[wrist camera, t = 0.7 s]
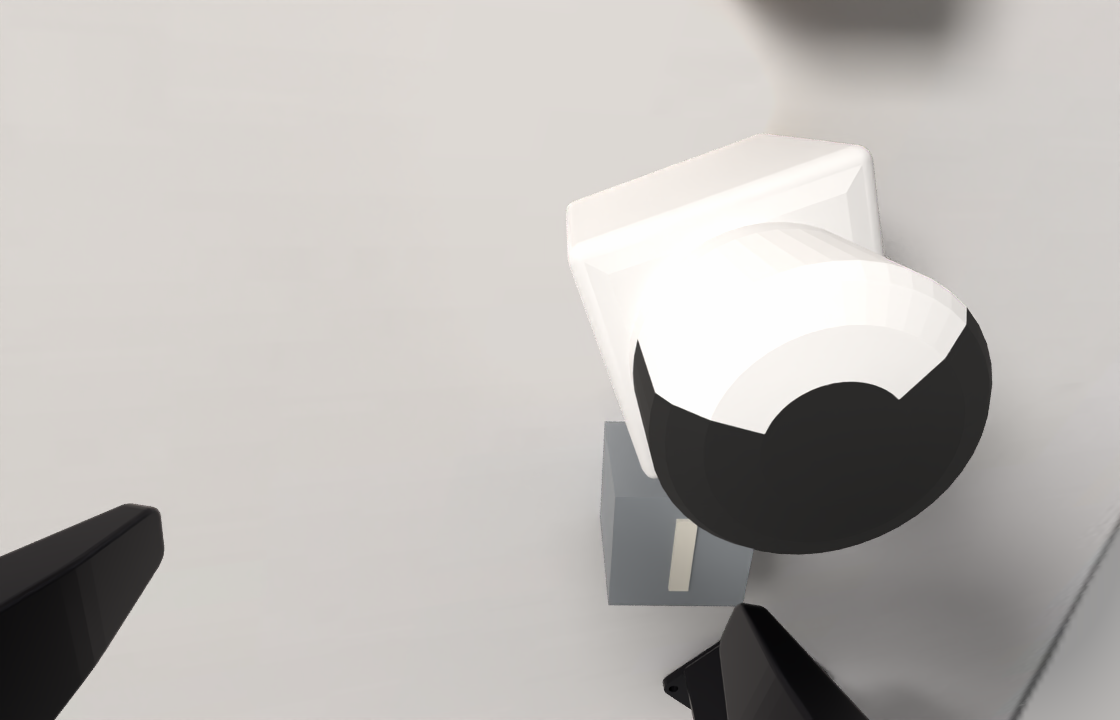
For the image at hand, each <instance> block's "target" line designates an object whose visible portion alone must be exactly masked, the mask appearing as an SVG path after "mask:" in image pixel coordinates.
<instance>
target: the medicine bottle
mask: <svg viewBox="0 0 1120 720" xmlns="http://www.w3.org/2000/svg"><path fill="white" fill-rule="evenodd" d="M566 223H567V251H568V263H569V266H570V269H571V272H572V275H573V277H574V280H575V283H576V286H577V289H578V291H579V294H580V297H581V300H582V303H583V305H584V308H585V311H586V314H587V317H588V319H589V322H590V325H591V328H592V331H593V333H594V336H595V339H596V342H597V345H598V347H599V350H600V353H601V356H602V359H603V361H604V364H605V367H606V370H607V373H608V375H609V378H610V381H611V384H612V386H613V389H614V392H615V395H616V398H617V400H618V403H619V406H620V409H621V412H622V414H623V417H624V420H625V423H626V426H627V428H628V431H629V434H630V437H631V440H632V442H633V445H634V448H635V451H636V454H637V456H638V459H639V462H640V465H641V468H642V470H643V471H644V472H645V474H646V475H647V476H648V477H650V478H652V479H657V478H658V479H659V481H660V484H661V486H662V488H663V489H664V491H665V492H666V494H667V495H668V497H669V498H670V500H671V501H672V503H673V504H674V505H675V506H676V507H677V508H678V509H679V510H680V511H681V512H682V514H683V515H684V516H686V517H687V518H688V519H689V520H691V521H692V522H693V523H694V524H696V525H697V526H698V527H700V528H702V529H703V530H705V531H707V532H708V533H710V534H712V535H714V536H716V537H718V538H720V539H723V540H725V541H728V542H730V543H733V544H736V545H740V546H744V547H748V548H751V549H755V550H759V551H764V552H771V553H778V554H813V553H823V552H828V551H834V550H840V549H843V548H847V547H851V546H854V545H858V544H861V543H864V542H866V541H869V540H871V539H874V538H877V537H879V536H881V535H883V534H885V533H887V532H889V531H891V530H893V529H895V528H897V527H899V526H901V525H902V524H904V523H905V522H907V521H909V520H910V519H912V518H913V517H915V516H917V515H918V514H919V513H920V512H922V511H923V510H924V509H926V508H927V507H928V506H929V505H931V504H932V503H933V502H934V501H935V500H936V499H937V498H938V497H939V496H940V495H941V494H943V493H944V492H945V491H946V490H947V489H948V488H949V487H950V485H951V484H952V483H953V482H954V480H955V479H956V478H957V477H958V476H959V474H960V473H961V472H962V471H963V469H964V467H965V466H966V464H967V463H968V461H969V460H970V458H971V456H972V455H973V453H974V451H975V449H976V447H977V445H978V442H979V440H980V438H981V436H982V433H983V430H984V426H985V423H986V420H987V416H988V410H989V404H990V396H991V389H992V369H991V360H990V356H989V351H988V347H987V343H986V341H985V338H984V336H983V334H982V331H981V329H980V327H979V324H978V323H977V322H976V320H975V319H974V317H973V316H972V314H971V313H970V311H969V310H968V308H967V307H966V306H965V305H964V304H963V303H962V302H961V301H960V300H959V299H958V298H957V297H956V296H955V295H954V294H953V293H952V292H951V291H949V290H948V289H946V288H945V287H943V286H942V285H940V284H939V283H937V282H936V281H934V280H933V279H931V278H929V277H927V276H924V275H922V274H920V273H918V272H916V271H914V270H911V269H909V268H907V267H905V266H903V265H901V264H898V263H896V262H894V261H892V260H890V259H888V258H885V257H884V251H883V242H882V234H881V225H880V216H879V208H878V199H877V190H876V182H875V173H874V164H873V158H872V155H871V153H870V151H869V150H868V149H866V148H865V147H863V146H861V145H855V144H847V143H839V142H831V141H822V140H814V139H806V138H798V137H790V136H781V135H773V134H765V133H763V134H756V135H754V136H751V137H748V138H745V139H743V140H740V141H737V142H735V143H732V144H729V145H726V146H724V147H721V148H718V149H715V150H713V151H710V152H707V153H705V154H702V155H699V156H696V157H694V158H691V159H688V160H685V161H683V162H680V163H677V164H674V165H672V166H669V167H666V168H664V169H661V170H658V171H655V172H653V173H650V174H647V175H644V176H642V177H639V178H636V179H634V180H631V181H628V182H625V183H623V184H620V185H617V186H614V187H612V188H609V189H606V190H604V191H601V192H598V193H595V194H593V195H590V196H587V197H584V198H582V199H579V200H576V201H573V202H572V203H570V204H569V205H568V207H567V209H566Z"/></svg>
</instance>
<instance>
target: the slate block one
mask: <svg viewBox="0 0 1120 720" xmlns="http://www.w3.org/2000/svg"><path fill="white" fill-rule="evenodd" d="M600 521H601V531H602V542H603V553H604V563H605V574H606V585H607V595H608V605H651V606H737V605H738V604H740V603H743V600H744V595H745V590H746V585H747V580H748V575H749V570H750V565H751V560H752V555H753V550H754V549H751V548H748V547H744V546H740V545H736V544H733V543H730V542H728V541H725V540H723V539H720V538H718V537H716V536H714V535H712V534H710V533H708V532H707V531H705V530H703V529H702V528H700V527H698V526H697V525H696V524H694V523H693V522H692V521H691V520H689V519H688V518H687V517H686V516H684V515H683V514H682V512H681V511H680V510H679V509H678V508H677V507H676V506H675V505H674V504H673V503H672V501H671V500H670V498H669V497H668V495H667V494H666V492H665V491H664V489H663V488H662V486H661V484H660V481H659V479H658V478H657V479H652V478H650V477H648V476H647V475H646V474H645V472H644V471H643V470H642V468H641V465H640V462H639V459H638V456H637V454H636V451H635V448H634V445H633V442H632V440H631V437H630V434H629V431H628V428H627V426H626V423H625V422H605V428H604V448H603V468H602V488H601V508H600Z"/></svg>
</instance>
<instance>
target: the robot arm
mask: <svg viewBox="0 0 1120 720" xmlns="http://www.w3.org/2000/svg"><path fill="white" fill-rule="evenodd" d="M163 555H164V540H163V531H162V522H161V515H160V512H159V511H158V509H157V508H154V507H151V506H144V505H138V504H124V505H121V506H119V507H116V508H114V509H111V510H109V511H107V512H104V513H102V514H100V515H97V516H95V517H93V518H90V519H88V520H86V521H83V522H81V523H78V524H76V525H74V526H71V527H69V528H67V529H64V530H62V531H60V532H57V533H55V534H52V535H50V536H48V537H45V538H43V539H41V540H38V541H36V542H34V543H31V544H29V545H26V546H24V547H22V548H19V549H17V550H15V551H12V552H10V553H8V554H5V555H3V556H1V557H0V720H55V719H56V717H57V716H58V715H59V713H60V712H61V711H62V709H63V708H64V707H65V706H66V704H67V703H68V702H69V700H70V699H71V698H72V696H73V695H74V694H75V693H76V691H77V690H78V689H79V687H80V686H81V685H82V683H83V682H84V681H85V679H86V678H87V677H88V675H89V674H90V673H91V671H92V670H93V668H94V667H95V666H96V664H97V663H98V661H99V660H100V658H101V657H102V655H103V654H104V652H105V651H106V649H107V648H108V646H109V645H110V643H111V641H112V640H113V638H114V637H115V635H116V634H117V632H118V630H119V629H120V627H121V626H122V624H123V622H124V621H125V619H126V618H127V616H128V615H129V613H130V611H131V610H132V608H133V607H134V605H135V603H136V602H137V600H138V599H139V597H140V595H141V594H142V592H143V591H144V589H145V588H146V586H147V584H148V583H149V581H150V580H151V578H152V576H153V575H154V573H155V572H156V570H157V569H158V567H159V565H160V563H161V561H162V558H163ZM663 686H664V691H665V692H666V693H667V694H668V695H670V696H671V697H673V698H674V699H676V700H677V701H679V702H680V703H682V704H683V705H685V706H686V707H688V708H690V709H691V710H692V715H693V719H694V720H869V719H868V718H867V717H866V716H865V715H864V714H863V713H862V712H861V710H860V709H859V708H858V707H857V706H856V705H855V704H854V703H853V702H852V701H851V700H850V699H849V697H848V696H847V695H846V694H845V693H844V692H843V691H842V690H841V689H840V688H839V687H838V686H837V685H836V683H835V682H834V681H833V680H832V679H831V678H830V677H829V675H828V674H827V673H826V672H825V671H823V669H822V668H821V667H820V666H819V665H818V664H817V663H816V662H815V661H814V660H813V659H812V658H811V657H810V655H809V654H808V653H807V652H806V651H805V650H804V649H803V648H802V647H801V646H800V645H799V644H798V642H797V641H796V640H795V639H794V638H793V637H792V636H791V635H790V634H789V633H788V632H787V631H786V630H785V628H784V627H783V626H782V625H781V624H780V623H779V622H778V621H777V620H776V619H775V618H774V617H773V616H772V614H771V613H770V612H769V611H768V610H767V609H765V608H764V607H762V606H757V605H751V604H745V603H740V604H738V605H737V606H736V607H735V608H734V610H733V612H732V615H731V617H730V619H729V621H728V623H727V625H726V628H725V630H724V632H723V634H722V637H721V640H720V642H718V643H717V644H715V645H714V646H712V647H711V648H709V649H708V650H706V651H705V652H703V653H702V654H700V655H699V656H697V657H696V658H694V659H693V660H691V661H690V662H688V663H687V664H685V665H684V666H682V667H681V668H679V669H678V670H676V671H675V672H673V673H672V674H670V675H669V676H667V677H666V678H665V679H664V680H663Z"/></svg>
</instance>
